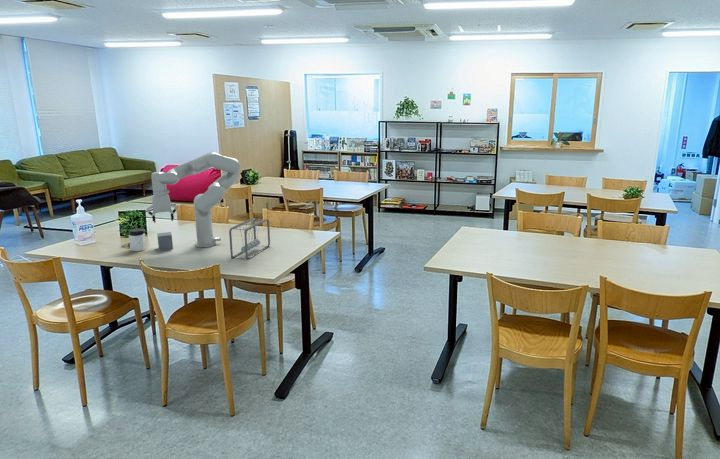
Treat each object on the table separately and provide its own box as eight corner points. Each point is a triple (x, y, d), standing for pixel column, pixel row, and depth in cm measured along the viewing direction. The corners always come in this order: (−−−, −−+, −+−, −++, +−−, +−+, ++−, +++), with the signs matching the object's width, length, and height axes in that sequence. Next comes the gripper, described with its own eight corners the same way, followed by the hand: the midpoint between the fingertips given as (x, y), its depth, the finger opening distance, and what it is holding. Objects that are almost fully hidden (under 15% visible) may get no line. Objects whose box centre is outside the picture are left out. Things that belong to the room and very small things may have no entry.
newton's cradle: (247, 260, 277) (245, 229, 273) (230, 259, 280) (228, 228, 276) (270, 246, 305) (269, 218, 301) (254, 244, 308) (253, 217, 304)
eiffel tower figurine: (135, 241, 317) (132, 221, 313) (147, 243, 313) (145, 222, 310) (116, 248, 303) (113, 226, 300) (129, 249, 300) (127, 228, 296)
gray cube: (172, 245, 305) (170, 232, 303) (173, 249, 299) (171, 235, 297) (158, 247, 302) (157, 233, 300) (159, 250, 296) (157, 236, 293)
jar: (131, 252, 293) (129, 232, 290) (129, 248, 299) (126, 229, 296) (147, 249, 297) (145, 230, 294) (145, 246, 304) (143, 227, 301)
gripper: (175, 190, 299) (178, 218, 303) (144, 193, 292) (147, 221, 297) (176, 192, 292) (179, 221, 297) (144, 195, 286) (148, 224, 290)
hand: (163, 221), depth 297 cm, fingers open, 9 cm apart
